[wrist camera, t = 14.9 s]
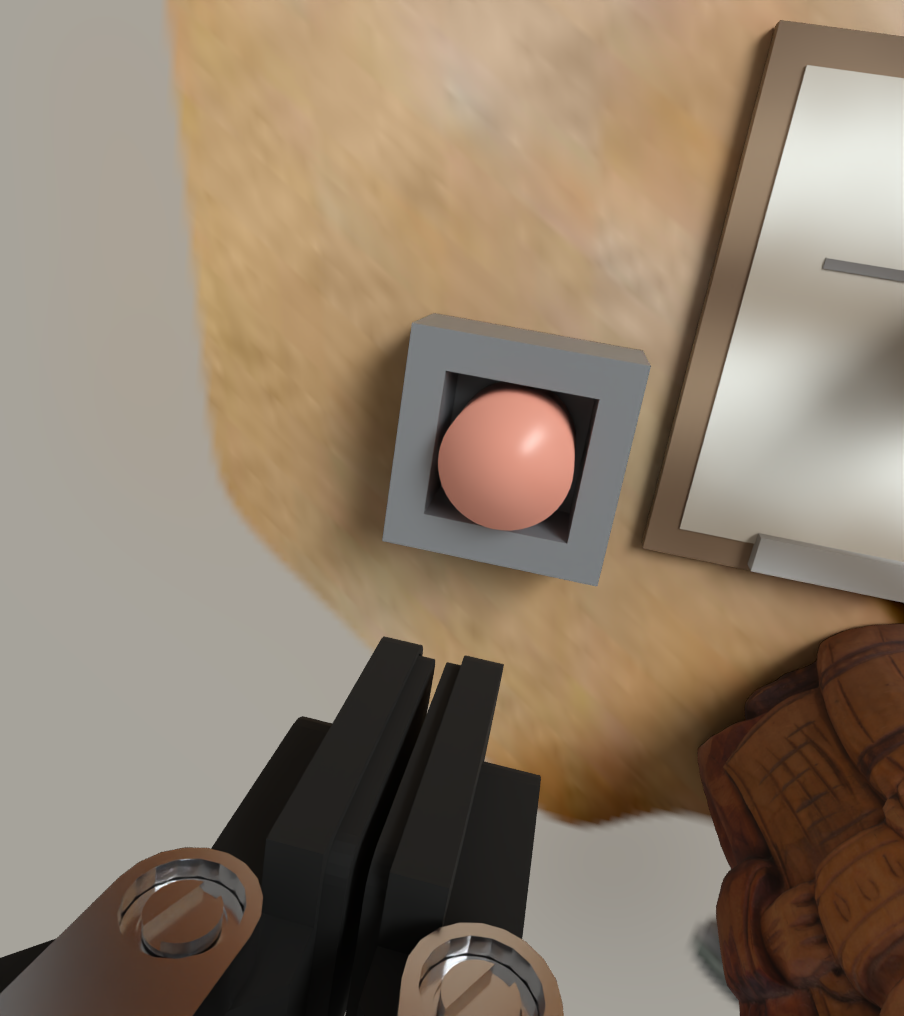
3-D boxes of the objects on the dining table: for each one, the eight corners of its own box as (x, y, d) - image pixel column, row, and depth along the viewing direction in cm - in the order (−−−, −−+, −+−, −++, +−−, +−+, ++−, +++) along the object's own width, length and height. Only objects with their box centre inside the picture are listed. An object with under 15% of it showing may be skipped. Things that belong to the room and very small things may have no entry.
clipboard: (999, 615, 26) (1017, 632, 25) (641, 542, 28) (644, 555, 27) (1232, 86, 21) (1268, 78, 20) (775, 25, 22) (785, 13, 21)
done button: (562, 506, 27) (558, 542, 24) (448, 483, 27) (429, 515, 24) (587, 391, 25) (586, 413, 22) (467, 369, 26) (449, 387, 23)
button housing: (596, 546, 28) (597, 586, 25) (405, 507, 29) (382, 540, 25) (643, 350, 26) (650, 365, 22) (434, 313, 26) (412, 322, 23)
